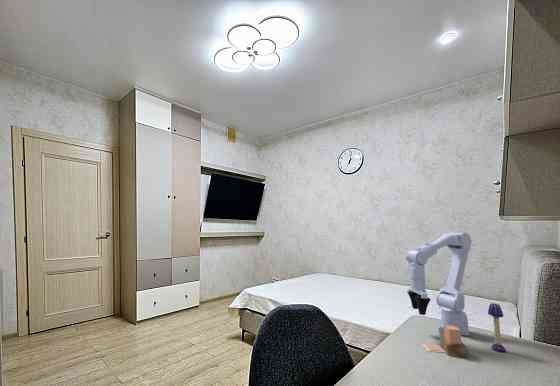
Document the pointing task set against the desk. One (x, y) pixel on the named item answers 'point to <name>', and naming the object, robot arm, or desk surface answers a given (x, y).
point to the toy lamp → (496, 326)
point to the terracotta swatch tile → (433, 348)
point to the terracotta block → (452, 334)
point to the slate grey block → (441, 333)
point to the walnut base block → (454, 349)
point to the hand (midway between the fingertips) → (418, 311)
